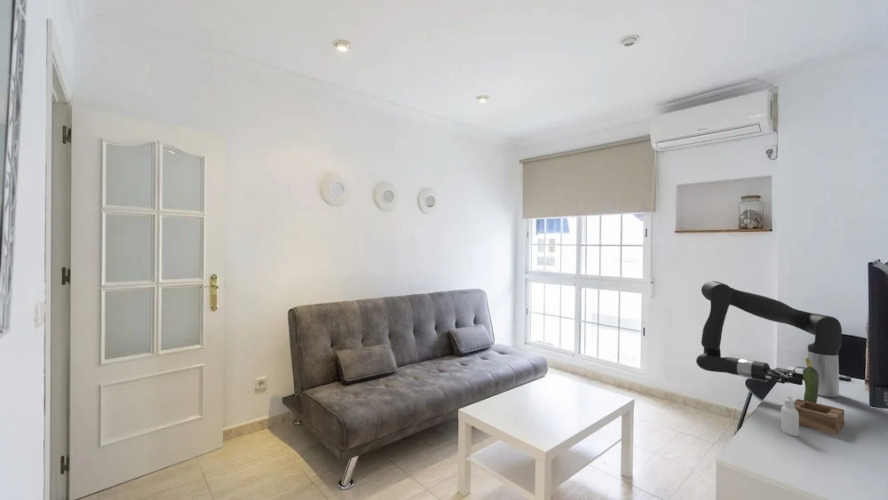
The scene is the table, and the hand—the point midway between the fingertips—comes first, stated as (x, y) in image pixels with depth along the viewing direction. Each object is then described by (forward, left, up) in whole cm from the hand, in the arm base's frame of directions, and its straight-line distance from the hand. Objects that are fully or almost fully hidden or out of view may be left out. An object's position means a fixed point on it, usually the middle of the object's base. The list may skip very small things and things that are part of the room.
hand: (805, 380), depth 145 cm
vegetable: (0, +2, -11) cm, 11 cm away
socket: (+14, +6, -11) cm, 19 cm away
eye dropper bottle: (+30, +3, -11) cm, 32 cm away
